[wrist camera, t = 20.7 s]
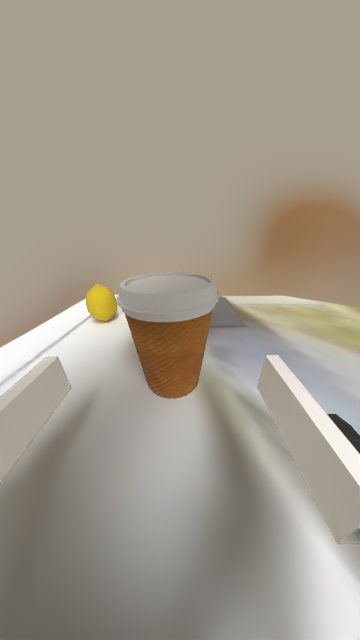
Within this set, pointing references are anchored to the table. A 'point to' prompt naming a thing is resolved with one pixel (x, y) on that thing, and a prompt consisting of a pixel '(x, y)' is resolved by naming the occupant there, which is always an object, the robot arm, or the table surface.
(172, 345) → the disposable coffee cup
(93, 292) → the lemon
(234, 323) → the mat
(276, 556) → the table surface
